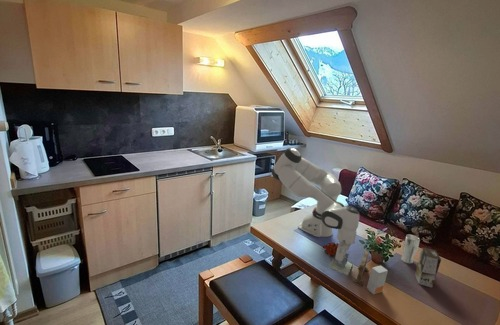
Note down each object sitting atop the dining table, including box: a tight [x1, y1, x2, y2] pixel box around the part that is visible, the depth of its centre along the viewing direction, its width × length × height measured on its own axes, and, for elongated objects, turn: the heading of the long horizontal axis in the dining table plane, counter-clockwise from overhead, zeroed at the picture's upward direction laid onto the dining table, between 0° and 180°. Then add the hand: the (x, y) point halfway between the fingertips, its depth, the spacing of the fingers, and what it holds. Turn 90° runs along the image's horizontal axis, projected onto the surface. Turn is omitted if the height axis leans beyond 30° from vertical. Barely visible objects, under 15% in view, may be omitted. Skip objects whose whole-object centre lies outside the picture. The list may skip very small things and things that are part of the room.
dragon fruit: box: [322, 241, 340, 258], centre depth 149 cm, size 8×8×12 cm
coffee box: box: [414, 247, 442, 288], centre depth 134 cm, size 9×6×16 cm
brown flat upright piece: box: [353, 248, 370, 287], centre depth 134 cm, size 16×4×11 cm, turn 148°
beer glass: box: [400, 234, 421, 265], centre depth 150 cm, size 7×7×15 cm
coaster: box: [328, 256, 353, 276], centre depth 142 cm, size 10×10×1 cm
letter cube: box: [335, 253, 350, 267], centre depth 140 cm, size 5×5×5 cm
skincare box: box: [366, 265, 389, 295], centre depth 125 cm, size 6×4×12 cm
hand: (341, 259), depth 141 cm, fingers closed on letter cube, 5 cm apart
